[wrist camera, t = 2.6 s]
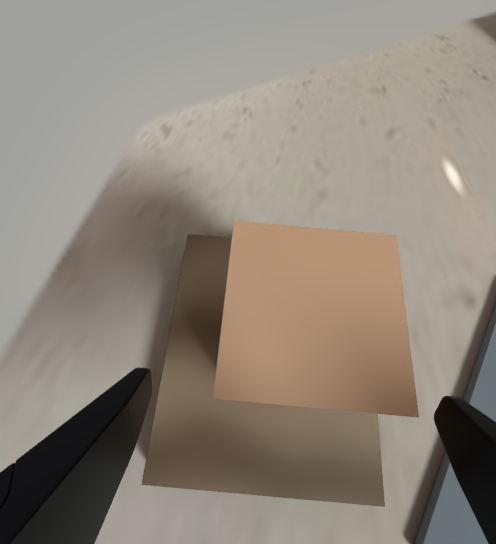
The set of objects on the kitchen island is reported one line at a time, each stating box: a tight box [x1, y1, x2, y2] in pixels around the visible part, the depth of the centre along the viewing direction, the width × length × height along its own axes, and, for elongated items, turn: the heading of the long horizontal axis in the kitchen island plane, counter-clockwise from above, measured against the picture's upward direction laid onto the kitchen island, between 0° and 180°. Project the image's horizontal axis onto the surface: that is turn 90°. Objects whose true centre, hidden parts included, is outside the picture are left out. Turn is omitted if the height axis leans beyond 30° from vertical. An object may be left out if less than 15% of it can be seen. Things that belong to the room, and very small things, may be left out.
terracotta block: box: [213, 221, 419, 417], centre depth 12 cm, size 4×4×10 cm
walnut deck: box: [142, 234, 385, 507], centre depth 17 cm, size 14×12×2 cm
